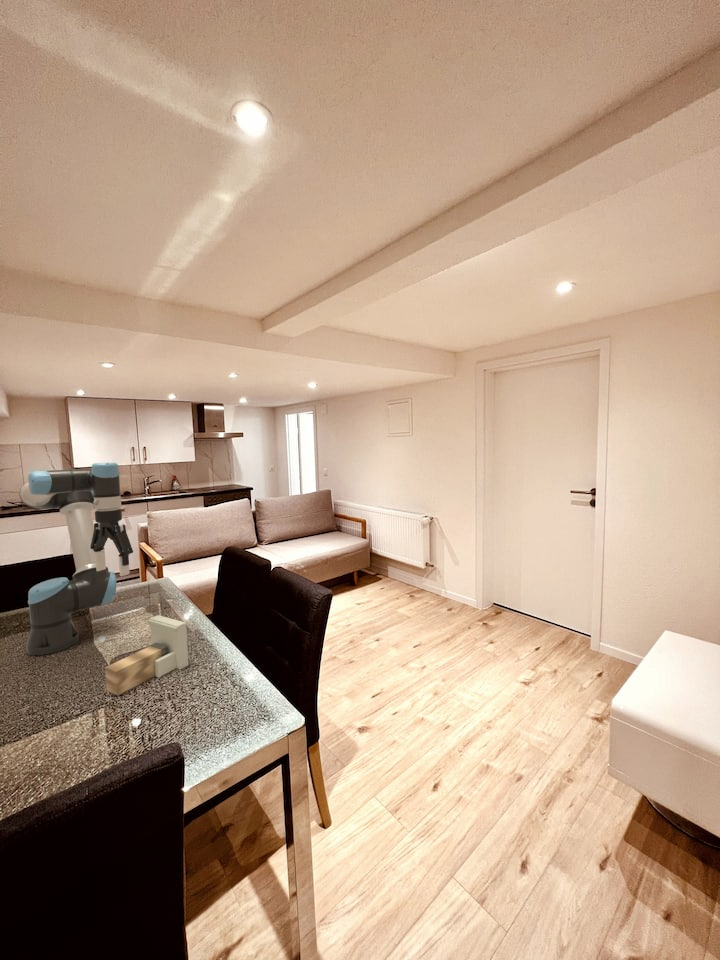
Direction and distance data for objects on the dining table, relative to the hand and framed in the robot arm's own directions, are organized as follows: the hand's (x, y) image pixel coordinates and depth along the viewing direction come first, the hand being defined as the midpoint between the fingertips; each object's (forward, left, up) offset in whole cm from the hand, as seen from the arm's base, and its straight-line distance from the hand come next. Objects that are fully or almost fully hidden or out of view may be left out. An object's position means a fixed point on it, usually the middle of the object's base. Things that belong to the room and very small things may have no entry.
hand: (112, 572), depth 134 cm
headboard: (+20, +2, -29) cm, 35 cm away
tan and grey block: (+20, -6, -29) cm, 36 cm away
